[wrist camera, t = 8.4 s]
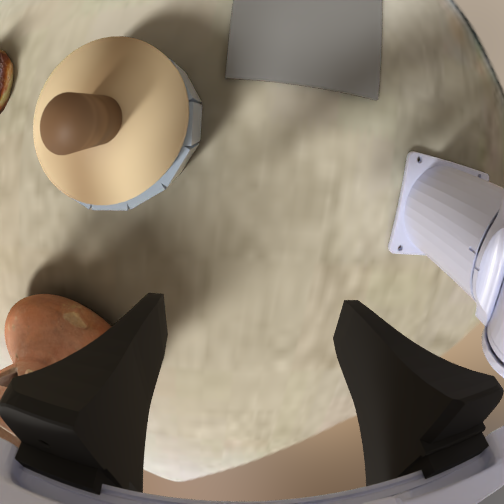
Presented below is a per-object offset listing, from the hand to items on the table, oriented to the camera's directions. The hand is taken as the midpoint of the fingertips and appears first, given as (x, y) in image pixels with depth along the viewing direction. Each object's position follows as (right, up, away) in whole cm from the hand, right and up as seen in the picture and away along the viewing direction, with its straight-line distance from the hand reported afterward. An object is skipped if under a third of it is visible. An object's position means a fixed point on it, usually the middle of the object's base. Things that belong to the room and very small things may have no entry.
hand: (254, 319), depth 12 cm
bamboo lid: (-8, +10, +2) cm, 12 cm away
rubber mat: (+4, +18, +3) cm, 18 cm away
